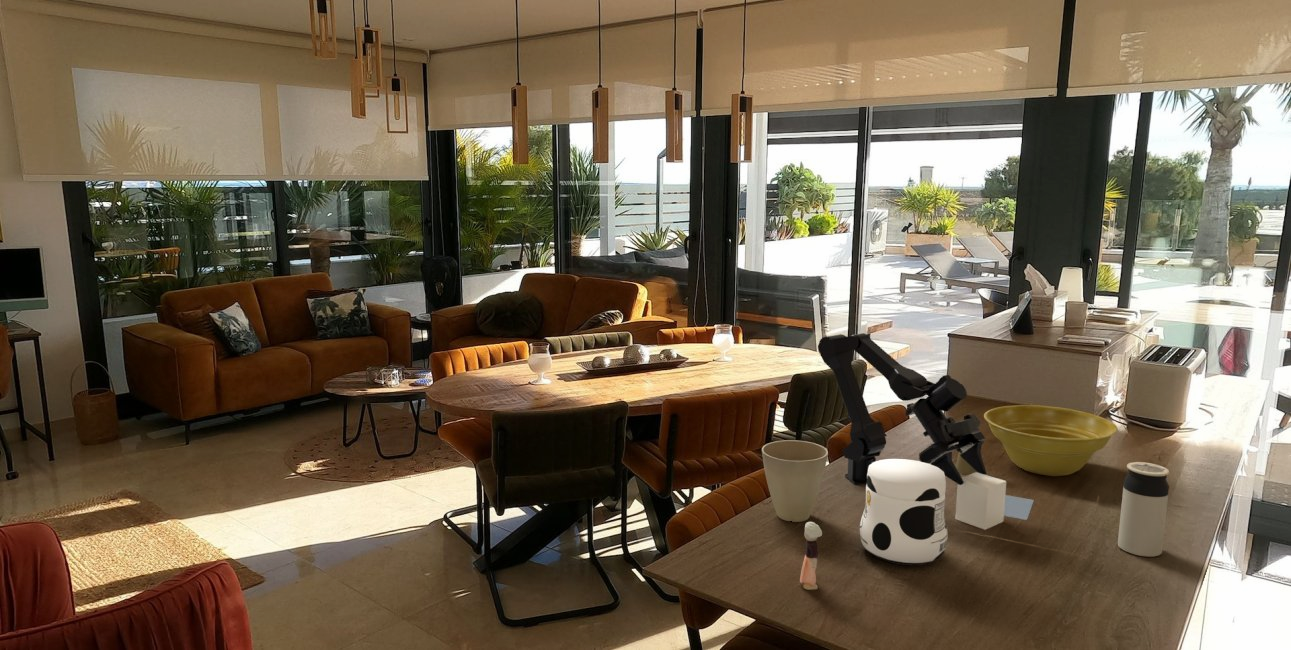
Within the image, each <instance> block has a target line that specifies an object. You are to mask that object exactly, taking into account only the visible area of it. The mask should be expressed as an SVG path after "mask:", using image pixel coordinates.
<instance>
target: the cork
mask: <svg viewBox="0 0 1291 650" xmlns="http://www.w3.org/2000/svg"><path fill="white" fill-rule="evenodd" d="M961 454H962V453H960V452H958V454H957V459H956V463H955V467H956V469H957V470H958V472H959V474H960V475H963V476H967V475H969V474H972V473H975V472H977V471H976V470H975V469H974V468H973V467H971V466H970V465H969V464H968V463H967V462H966V461H965V460H964V459H963V458H962V457H961V456H960V455H961Z"/></svg>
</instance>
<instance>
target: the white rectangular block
mask: <svg viewBox="0 0 1291 650" xmlns="http://www.w3.org/2000/svg"><path fill="white" fill-rule="evenodd" d="M961 477H962V480H963V482H964V483H963V484H962V485H959V484H957V483H956V485H957V486H956V502H955V516H954V517H955V518H954V520H957V521H959V522H962V523H966V524H968V525H971V526H974V527H976V528H979V529H981V530H984V531H986V530H988V529H990V528H992V527H994V526H997V525H999V524H1002V523H1003V522H1004V520H1005V519H1004V517H1005V516H1004V506H1005V495H1006V493H1007V492H1006V491H1007V481H1006V480H1004V479H1001V478H999V477H998V478H997V477H993V476H990V475H988V474H986V475H984V474H981V473H978V472H975V473H972V474H969V475H963V476H961Z"/></svg>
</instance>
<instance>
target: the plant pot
mask: <svg viewBox="0 0 1291 650" xmlns="http://www.w3.org/2000/svg"><path fill="white" fill-rule="evenodd" d="M761 454H762V455H761V456H762V461H763V463H762V464H763V468H764V474H765V478H766V482H767V487H768V490H769V494H770V497H771V500H772V504H773V507H774V509H775V513H776V515H777V517H778V518H779V519H781V520H783V521H786V522H790V521H792V522H794V523H797V522H798V523H800V522H805V521H807V520H808V519H809V518H810V517H811V515H812V512H813V509H814V508H815V505H816V502H817V500H818V496H819V493H820V490H821V487H822V483H823V480H824V476H825V475H824V474H825V472H826V465H827V461H828V454H829V452H828V449H827V448H826V447H825V446H823V445H820V444H817V443H815V442H810V441H805V440H796V439H795V440H792V439H791V440H789V439H788V440H786V439H785V440H776V441H773V442H769V443H766V444H765V445H763V446H762V448H761Z"/></svg>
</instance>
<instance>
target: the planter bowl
mask: <svg viewBox="0 0 1291 650" xmlns="http://www.w3.org/2000/svg"><path fill="white" fill-rule="evenodd" d="M983 418H984V420H985V421H986V422H987V423H988V426H989V429H990V431H991V433H992V435H994V437H995V438H996V439H998V440H999V441H1000V442H1001V443H1002V445H1003V448H1004V450H1005V452H1006V453H1007V456H1008V457H1009V459H1010V460H1011V462H1012V463H1013V464H1014V465H1016V466H1017V467H1018V468H1020V469H1021V468H1022V469H1021V470H1023V469H1024V471H1025V472H1029V473H1032V474H1037V475H1044V476H1049V477H1052V476H1053V477H1054V476H1055V477H1061V476H1064V477H1065V476H1069V475H1072V474H1074V473H1076V472H1078V471H1080V470H1081V469H1082V468H1083V467H1084V466H1085V465H1086V464H1087V463H1088V461H1089V460H1090V459H1091V458H1092V457H1093V456H1092V455H1094V453H1096V452H1097V451H1100V450H1102V449H1103V448H1105V447H1106V445H1107V444H1108V443H1109V441H1110V439H1111V437H1113V436H1114V435H1116V434H1117V433H1118V431H1119V429H1118V427H1117V425H1116V424H1115V423H1113V422H1112V421H1110V420H1109V419H1106V418H1104V417H1102V416H1099V415H1095V414H1092V413H1089V412H1085V411H1080V410H1076V409H1072V408H1065V407H1057V406H1048V405H1035V404H1033V405H1030V404H1027V405H1026V404H1022V405H1021V404H1019V405H1016V404H1015V405H1005V406H999V407H994V408H991V409H989V410H987V411H986V412H984V414H983Z"/></svg>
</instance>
